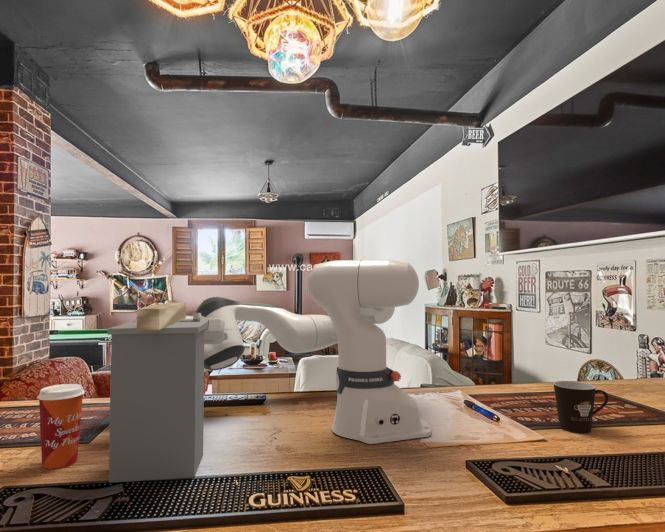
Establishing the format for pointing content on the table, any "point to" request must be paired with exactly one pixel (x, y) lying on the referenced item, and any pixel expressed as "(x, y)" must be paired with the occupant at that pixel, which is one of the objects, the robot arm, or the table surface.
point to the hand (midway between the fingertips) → (173, 316)
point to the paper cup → (60, 424)
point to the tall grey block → (156, 402)
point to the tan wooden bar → (160, 315)
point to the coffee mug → (576, 405)
